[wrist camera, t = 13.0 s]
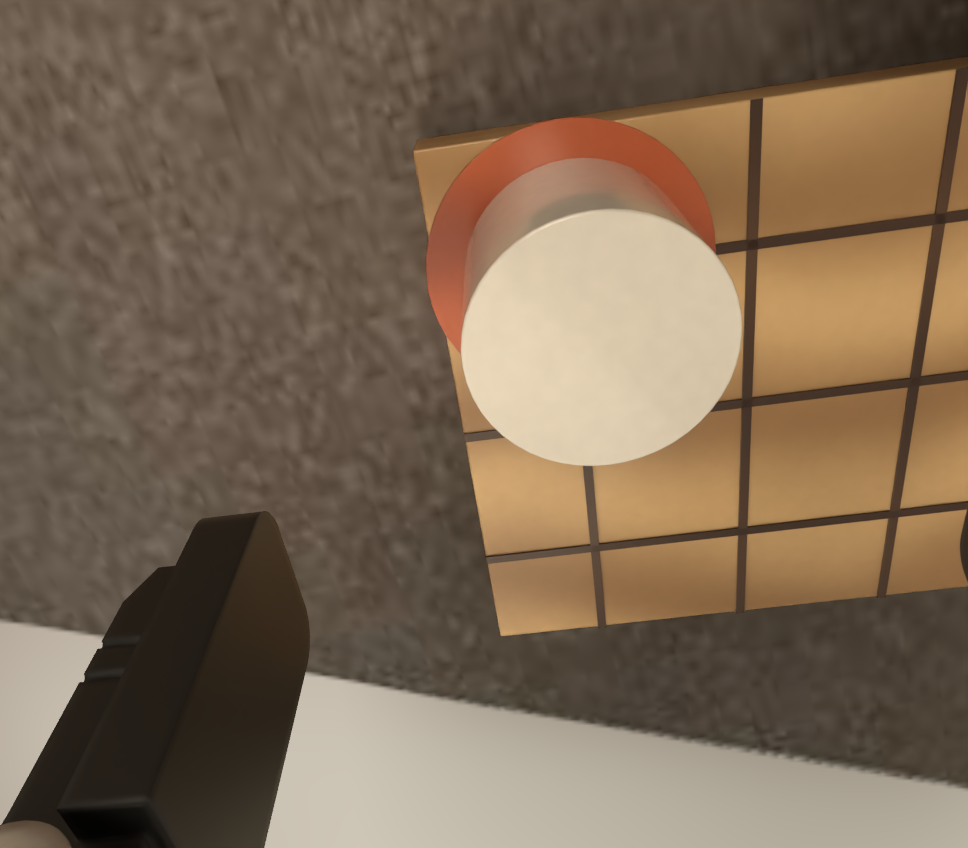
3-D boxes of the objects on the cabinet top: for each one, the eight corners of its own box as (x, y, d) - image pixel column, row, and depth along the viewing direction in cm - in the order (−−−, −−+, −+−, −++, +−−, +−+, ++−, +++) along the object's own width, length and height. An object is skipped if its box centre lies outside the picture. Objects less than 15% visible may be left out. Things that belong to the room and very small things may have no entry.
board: (405, 131, 17) (400, 143, 16) (1082, 28, 16) (1128, 32, 15) (493, 609, 24) (494, 640, 23) (965, 556, 23) (990, 587, 22)
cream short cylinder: (446, 176, 16) (438, 232, 13) (688, 140, 16) (746, 188, 12) (481, 386, 19) (481, 481, 15) (691, 359, 18) (739, 450, 15)
